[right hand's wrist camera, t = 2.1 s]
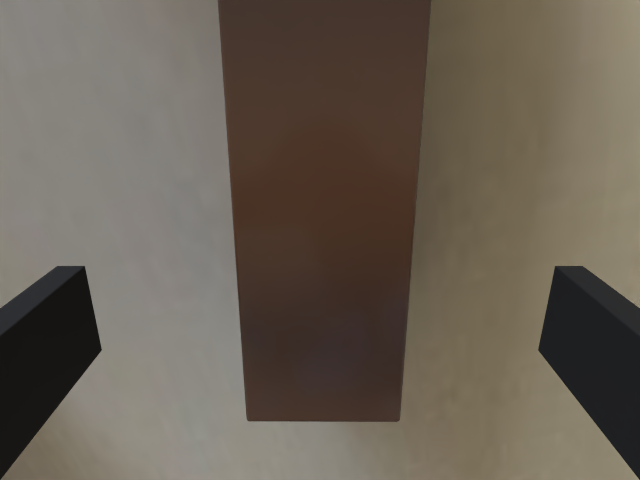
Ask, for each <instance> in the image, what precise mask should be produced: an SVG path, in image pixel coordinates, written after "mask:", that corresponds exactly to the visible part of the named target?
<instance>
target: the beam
mask: <svg viewBox="0 0 640 480" xmlns="http://www.w3.org/2000/svg"><path fill="white" fill-rule="evenodd" d="M218 9H219V23H220V38H221V52H222V67H223V81H224V96H225V111H226V125H227V140H228V154H229V169H230V183H231V198H232V213H233V227H234V242H235V256H236V271H237V286H238V300H239V315H240V329H241V344H242V358H243V373H244V388H245V402H246V417H247V420H248V421H346V422H398V421H399V420H400V411H401V397H402V384H403V371H404V357H405V344H406V330H407V317H408V304H409V290H410V277H411V264H412V250H413V237H414V224H415V210H416V197H417V183H418V170H419V157H420V143H421V130H422V117H423V103H424V90H425V77H426V63H427V50H428V36H429V23H430V10H431V0H218Z"/></svg>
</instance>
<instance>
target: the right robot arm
mask: <svg viewBox="0 0 640 480" xmlns="http://www.w3.org/2000/svg"><path fill="white" fill-rule="evenodd" d="M101 350H102V349H101V344H100V339H99V334H98V329H97V324H96V319H95V314H94V309H93V304H92V300H91V295H90V290H89V285H88V280H87V275H86V270H85V266H57V267H55V268H54V269H53V270H51V271H50V272H49V273H47V274H46V275H45V276H43V277H42V278H41V279H39V280H38V281H37V282H35V283H34V284H33V285H31V286H30V287H29V288H27V289H26V290H25V291H23V292H22V293H20V294H19V295H18V296H16V297H15V298H14V299H12V300H11V301H10V302H8V303H7V304H6V305H4V306H3V307H2V308H0V480H1V478H2V477H3V476H4V474H5V473H6V472H7V471H8V469H9V468H10V467H11V465H12V464H13V463H14V462H15V460H16V459H17V458H18V456H19V455H20V454H21V453H22V451H23V450H24V449H25V448H26V446H27V445H28V444H29V442H30V441H31V440H32V439H33V437H34V436H35V435H36V433H37V432H38V431H39V430H40V428H41V427H42V426H43V425H44V423H45V422H46V421H47V419H48V418H49V417H50V416H51V414H52V413H53V412H54V410H55V409H56V408H57V407H58V405H59V404H60V403H61V402H62V400H63V399H64V398H65V396H66V395H67V394H68V393H69V391H70V390H71V389H72V387H73V386H74V385H75V384H76V382H77V381H78V380H79V378H80V377H81V376H82V375H83V373H84V372H85V371H86V370H87V368H88V367H89V366H90V364H91V363H92V362H93V361H94V359H95V358H96V357H97V355H98V354H99V353H100V352H101ZM538 350H539V352H540V353H541V354H542V355H543V357H544V358H545V359H546V361H547V362H548V363H549V364H550V366H551V367H552V368H553V370H554V371H555V372H556V373H557V375H558V376H559V377H560V378H561V380H562V381H563V382H564V384H565V385H566V386H567V387H568V389H569V390H570V391H571V393H572V394H573V395H574V396H575V398H576V399H577V400H578V402H579V403H580V404H581V405H582V407H583V408H584V409H585V410H586V412H587V413H588V414H589V416H590V417H591V418H592V419H593V421H594V422H595V423H596V425H597V426H598V427H599V428H600V430H601V431H602V432H603V433H604V435H605V436H606V437H607V439H608V440H609V441H610V442H611V444H612V445H613V446H614V448H615V449H616V450H617V451H618V453H619V454H620V455H621V456H622V458H623V459H624V460H625V462H626V463H627V464H628V465H629V467H630V468H631V469H632V471H633V472H634V473H635V474H636V476H637V477H638V478H639V480H640V308H638V307H637V306H636V305H634V304H633V303H632V302H630V301H629V300H628V299H626V298H625V297H624V296H622V295H621V294H620V293H618V292H617V291H615V290H614V289H613V288H611V287H610V286H609V285H607V284H606V283H605V282H603V281H602V280H601V279H599V278H598V277H597V276H595V275H594V274H593V273H591V272H590V271H589V270H587V269H586V268H585V267H583V266H555V270H554V275H553V280H552V285H551V290H550V295H549V300H548V304H547V309H546V314H545V319H544V324H543V329H542V334H541V339H540V344H539V349H538Z"/></svg>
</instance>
